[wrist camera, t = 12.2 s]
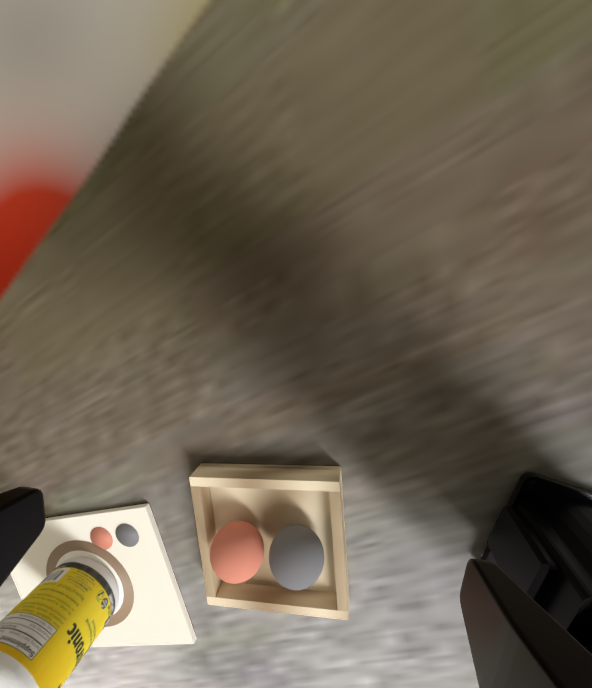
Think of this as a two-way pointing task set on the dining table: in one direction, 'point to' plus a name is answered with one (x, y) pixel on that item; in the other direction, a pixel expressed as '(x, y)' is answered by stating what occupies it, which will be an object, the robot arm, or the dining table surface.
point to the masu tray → (274, 531)
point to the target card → (116, 572)
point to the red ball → (237, 552)
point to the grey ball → (296, 557)
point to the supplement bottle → (56, 624)
